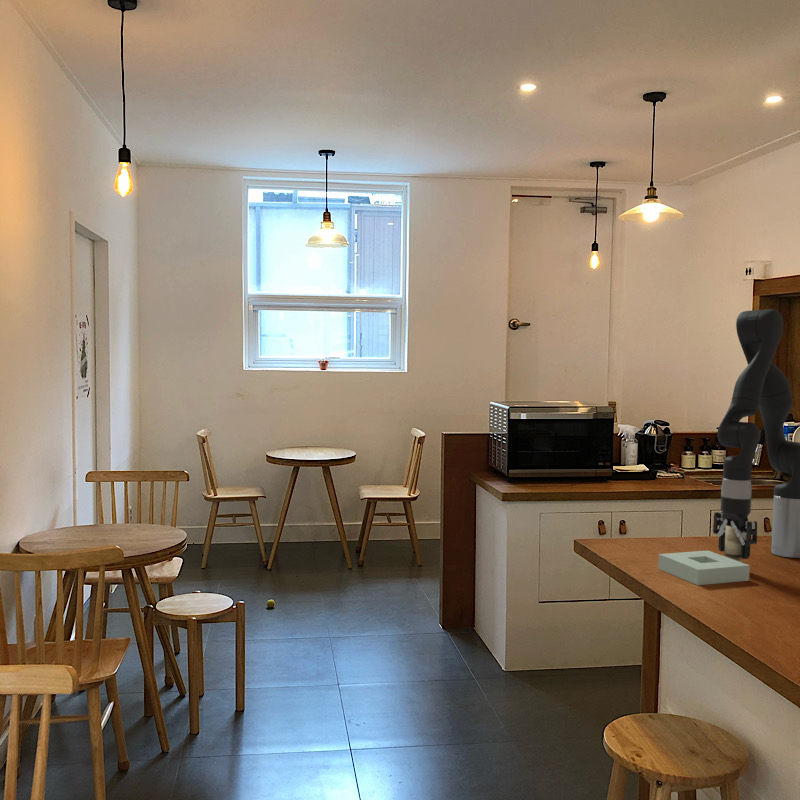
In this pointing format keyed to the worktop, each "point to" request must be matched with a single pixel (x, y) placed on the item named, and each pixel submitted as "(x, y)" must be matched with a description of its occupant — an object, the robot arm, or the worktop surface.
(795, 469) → the robot arm
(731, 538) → the peg
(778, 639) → the worktop surface
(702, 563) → the board
